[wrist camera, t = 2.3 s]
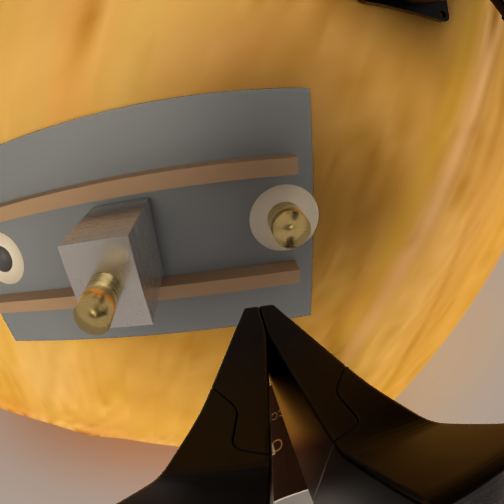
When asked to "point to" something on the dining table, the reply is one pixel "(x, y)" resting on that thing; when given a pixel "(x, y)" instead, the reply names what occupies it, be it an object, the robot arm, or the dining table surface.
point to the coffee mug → (285, 462)
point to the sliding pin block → (114, 266)
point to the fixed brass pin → (289, 225)
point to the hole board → (164, 207)
